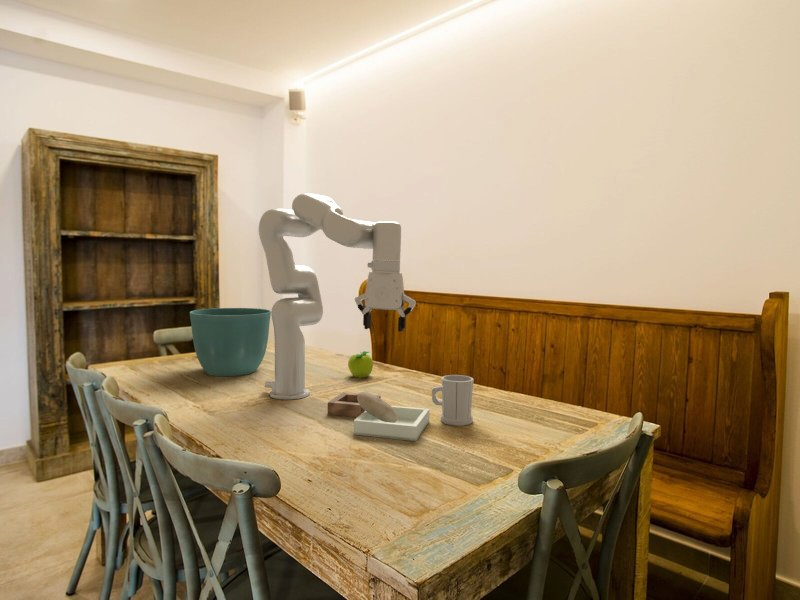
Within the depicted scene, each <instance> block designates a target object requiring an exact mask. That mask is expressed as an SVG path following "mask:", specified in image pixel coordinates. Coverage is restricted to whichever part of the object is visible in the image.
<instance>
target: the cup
mask: <svg viewBox="0 0 800 600" xmlns="http://www.w3.org/2000/svg"><path fill="white" fill-rule="evenodd" d="M474 380H475V379H474V378H473V377H471V376H469V375H463V374H462V375H461V374H460V375H459V374H450V375H449V374H448V375H444V376H442V377H440V381H441V385H438V386H434V387H432V389H431V401H432V403H433V404H434V405H435V406H441V408H442V410H441V414H440V421H441V423H442V424H446V425H447V426H456V427H462V426H463V427H464V426H468V425H470V424H472V423H473V421H474V417H473V415H472V405H473V404H472V403H473V400H472V399H473V389H474V382H475V381H474ZM438 392H441V399H442V400H440V399H438V397H437V395H436V394H437V393H438Z"/></svg>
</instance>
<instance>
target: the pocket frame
mask: <svg viewBox="0 0 800 600" xmlns="http://www.w3.org/2000/svg"><path fill="white" fill-rule="evenodd" d="M358 394H359V393H356V392H355V393H353V392H342V393H340V394H338V395H337V396H335V397H334V398H331V400H329V401H328V402H327V415H329V416H331V415H332V416H341V417H350V418H357V417H358V416H360V415H361V414H362V413H363V412H365V410H364V409H363V408H362V407H361V406H360V404H359V403H358V400H357V396H358ZM374 395H375V396H377V397H379V398H380V399H382V397H381V395H379V394H374Z"/></svg>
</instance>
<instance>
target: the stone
mask: <svg viewBox="0 0 800 600" xmlns="http://www.w3.org/2000/svg"><path fill="white" fill-rule="evenodd" d="M357 394H358V396H357V400H358V403H359V404H360V406H361V407H362V408H363V409H364V410H365V411H367V412H368V413H369V414H371V415H372V416H374V417H376V418H378V419H380V420H382V421H384V422H390V423H395V422H396V421H397V420H398V415H397V412H396V411H395V409H394V408H393V407H392V406H393V405H391V404H389V403H388V402H387V401H385V400H384V399H382V398H381V399H380V398H379V397H377V396H375V395H376V394H374V393H373V394H372V393H371V392H367V391H360V392H359V393H357Z"/></svg>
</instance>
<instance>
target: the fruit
mask: <svg viewBox="0 0 800 600" xmlns="http://www.w3.org/2000/svg"><path fill="white" fill-rule="evenodd" d="M369 353H370V351H365V350H364V351H361V353H360V354H358V353H357V354H353V355H351V356H350V358H349V359H348V364H347V366H348V369H349V371H350V374H351V376H353V377H354V378H357V379H364V378H367V377H368V376H370V375H371V373H372V371H373V369H374V368H373V367H374V362H373V358H372V357H371V356H370V355H369Z"/></svg>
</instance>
